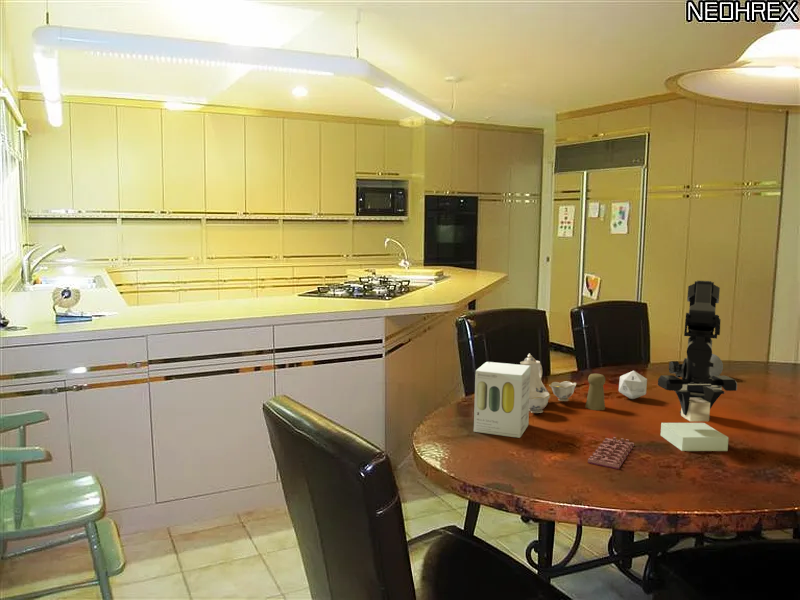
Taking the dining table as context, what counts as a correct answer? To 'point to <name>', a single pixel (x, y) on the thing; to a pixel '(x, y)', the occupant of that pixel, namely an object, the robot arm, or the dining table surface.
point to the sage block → (694, 437)
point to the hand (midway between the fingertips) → (694, 414)
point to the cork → (596, 392)
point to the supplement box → (502, 399)
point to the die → (632, 385)
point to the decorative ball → (716, 366)
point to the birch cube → (697, 410)
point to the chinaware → (538, 390)
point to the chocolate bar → (611, 453)
